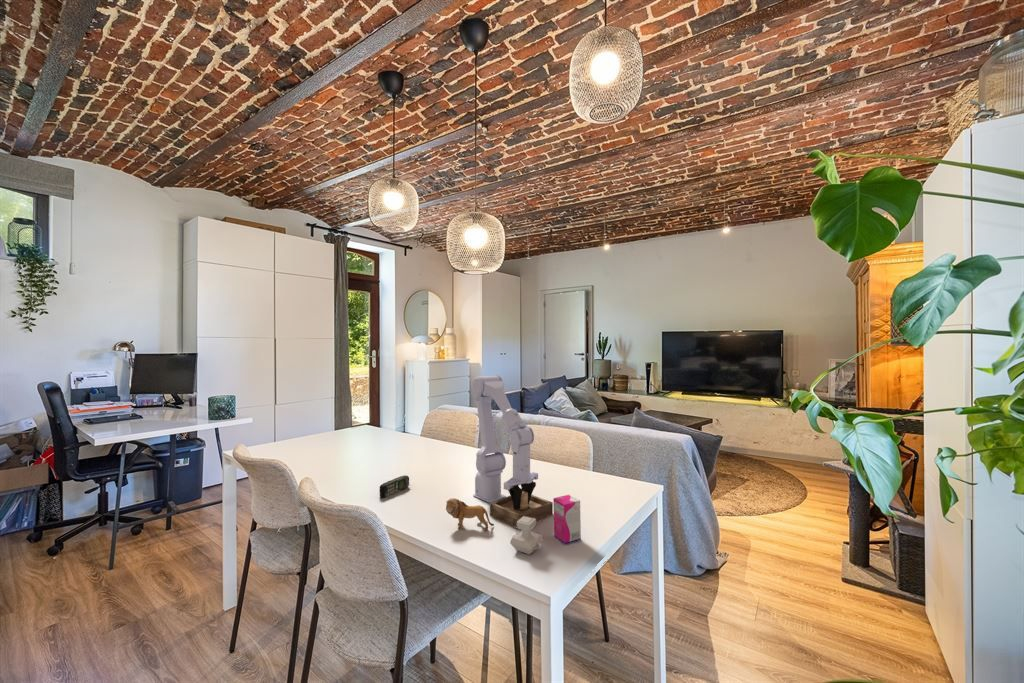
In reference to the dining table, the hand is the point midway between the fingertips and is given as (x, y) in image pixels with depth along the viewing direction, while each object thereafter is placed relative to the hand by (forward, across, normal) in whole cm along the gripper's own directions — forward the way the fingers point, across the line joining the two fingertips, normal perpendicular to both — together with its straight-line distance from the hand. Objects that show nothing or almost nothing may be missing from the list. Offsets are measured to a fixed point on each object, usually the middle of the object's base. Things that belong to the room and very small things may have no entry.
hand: (521, 505), depth 134 cm
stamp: (+3, -15, -16) cm, 22 cm away
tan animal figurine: (+3, -18, +5) cm, 19 cm away
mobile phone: (+3, -18, +48) cm, 51 cm away
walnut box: (+3, 0, 0) cm, 3 cm away
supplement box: (+3, -2, -20) cm, 20 cm away
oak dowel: (+2, 0, 0) cm, 2 cm away
